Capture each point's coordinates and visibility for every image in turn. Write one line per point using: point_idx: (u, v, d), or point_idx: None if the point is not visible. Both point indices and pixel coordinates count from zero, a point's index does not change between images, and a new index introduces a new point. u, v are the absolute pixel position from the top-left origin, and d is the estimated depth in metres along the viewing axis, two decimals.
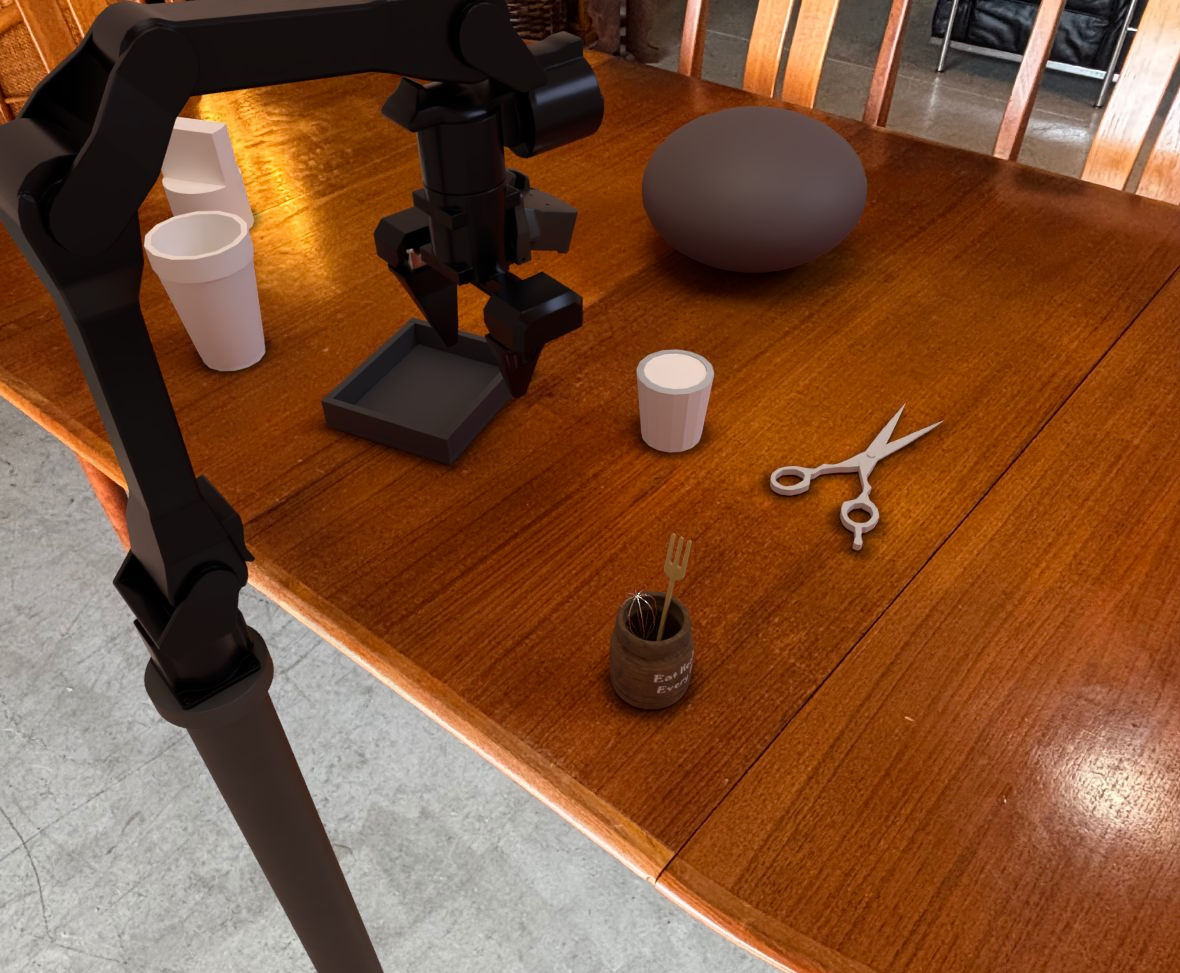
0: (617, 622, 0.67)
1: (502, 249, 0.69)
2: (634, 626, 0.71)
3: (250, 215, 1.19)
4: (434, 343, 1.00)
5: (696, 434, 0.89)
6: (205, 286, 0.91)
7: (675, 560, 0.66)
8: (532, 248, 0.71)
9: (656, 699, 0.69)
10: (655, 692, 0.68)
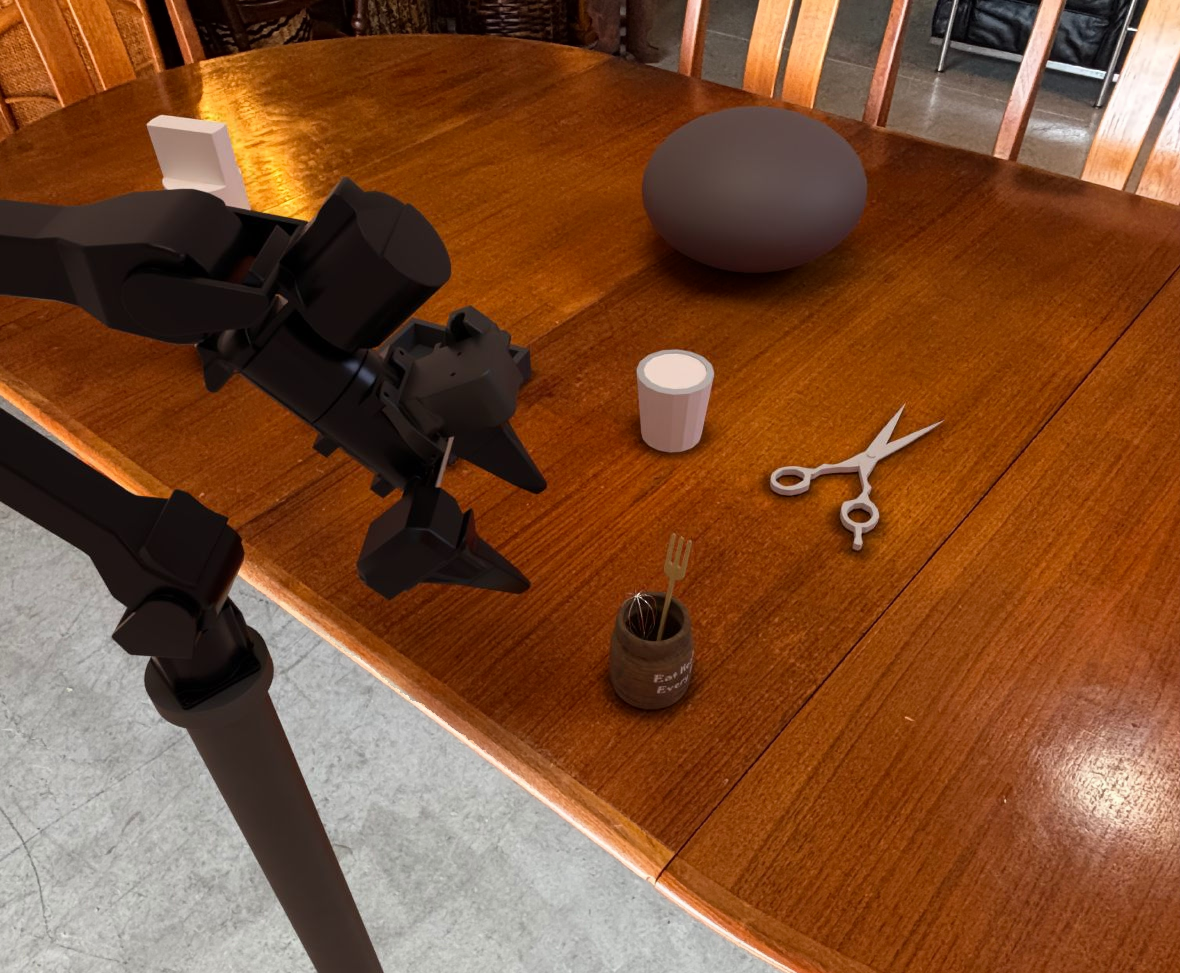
0: (617, 622, 0.67)
1: (397, 455, 0.56)
2: (634, 626, 0.71)
3: None
4: (434, 343, 1.00)
5: (696, 434, 0.89)
6: None
7: (675, 560, 0.66)
8: (446, 436, 0.55)
9: (656, 699, 0.69)
10: (655, 692, 0.68)
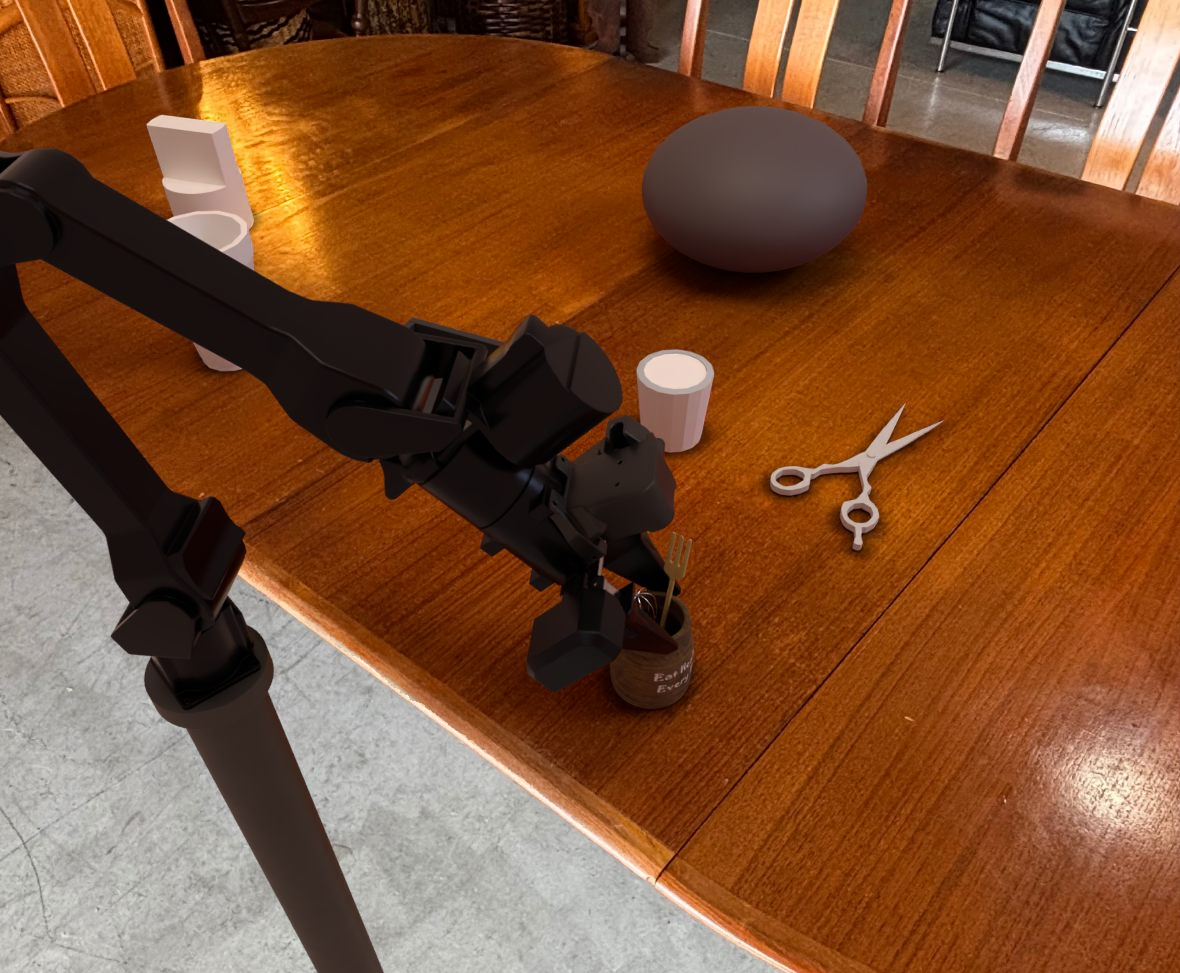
0: None
1: (559, 556, 0.60)
2: None
3: (250, 215, 1.19)
4: None
5: (696, 434, 0.89)
6: None
7: (675, 559, 0.66)
8: (607, 539, 0.59)
9: (656, 698, 0.69)
10: (655, 692, 0.68)
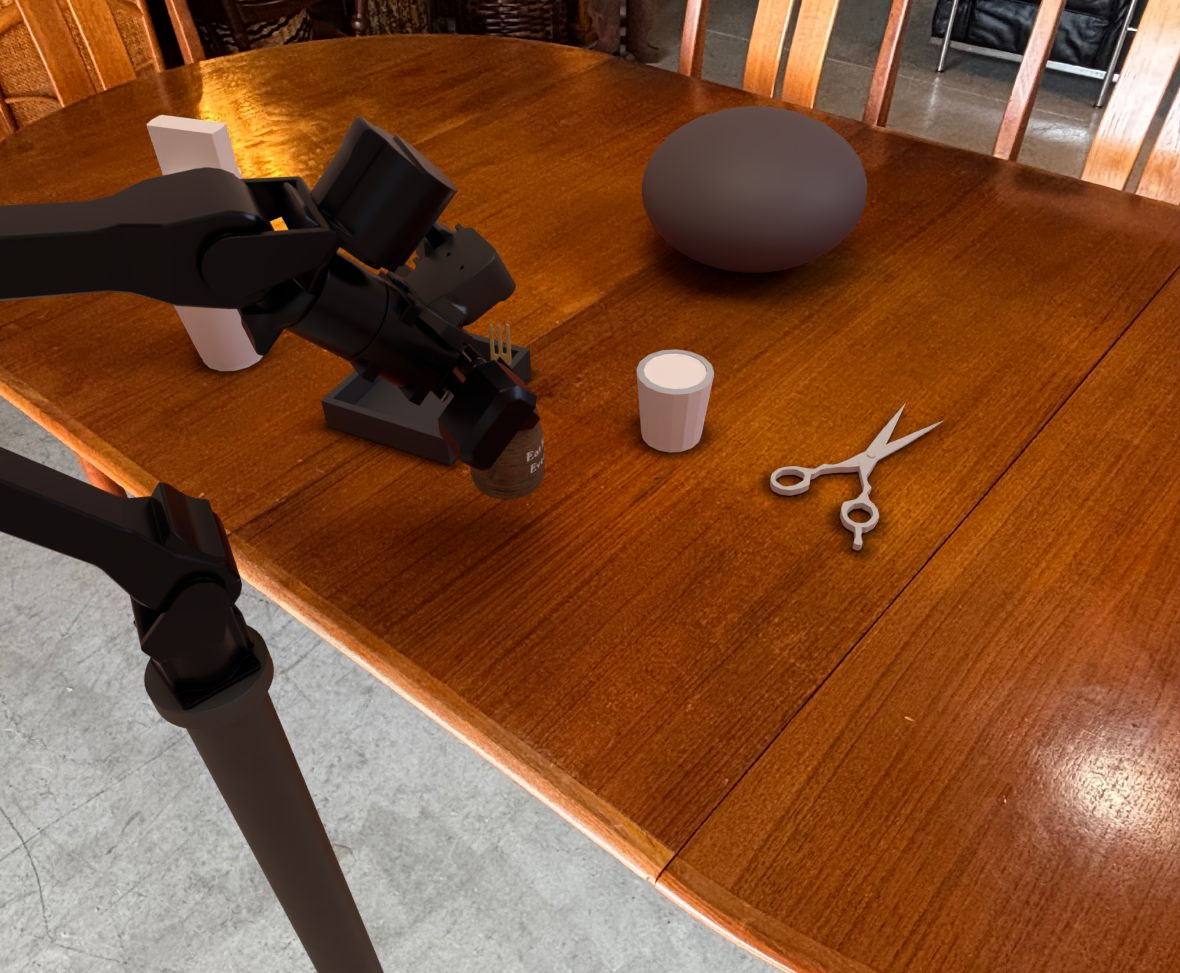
0: None
1: (434, 355, 0.64)
2: None
3: None
4: None
5: (696, 434, 0.89)
6: None
7: (499, 349, 0.73)
8: (469, 323, 0.65)
9: (530, 480, 0.76)
10: (529, 473, 0.76)
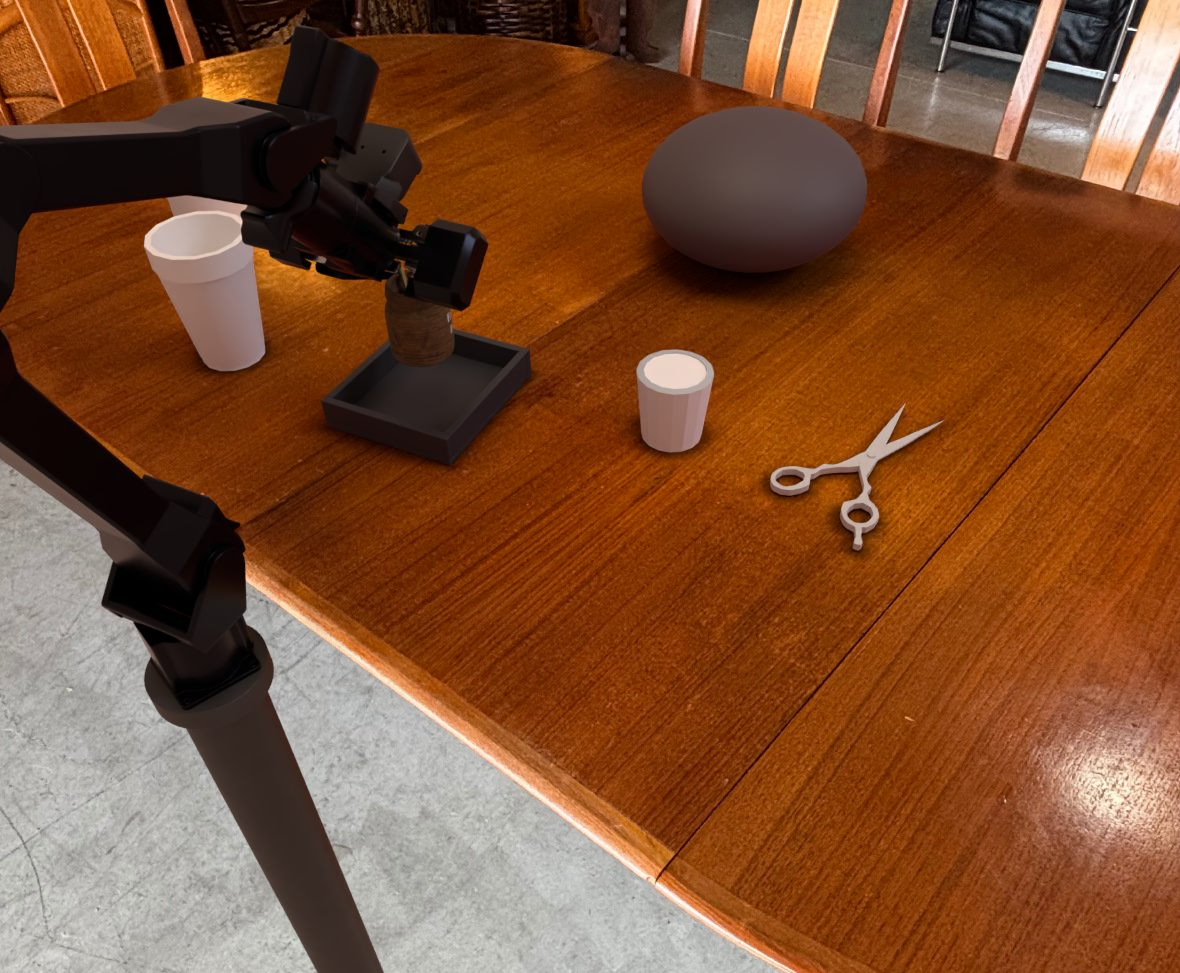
0: (403, 298, 0.85)
1: (387, 230, 0.76)
2: None
3: None
4: None
5: (696, 434, 0.89)
6: (205, 286, 0.91)
7: None
8: (401, 198, 0.77)
9: (451, 340, 0.90)
10: (450, 333, 0.89)
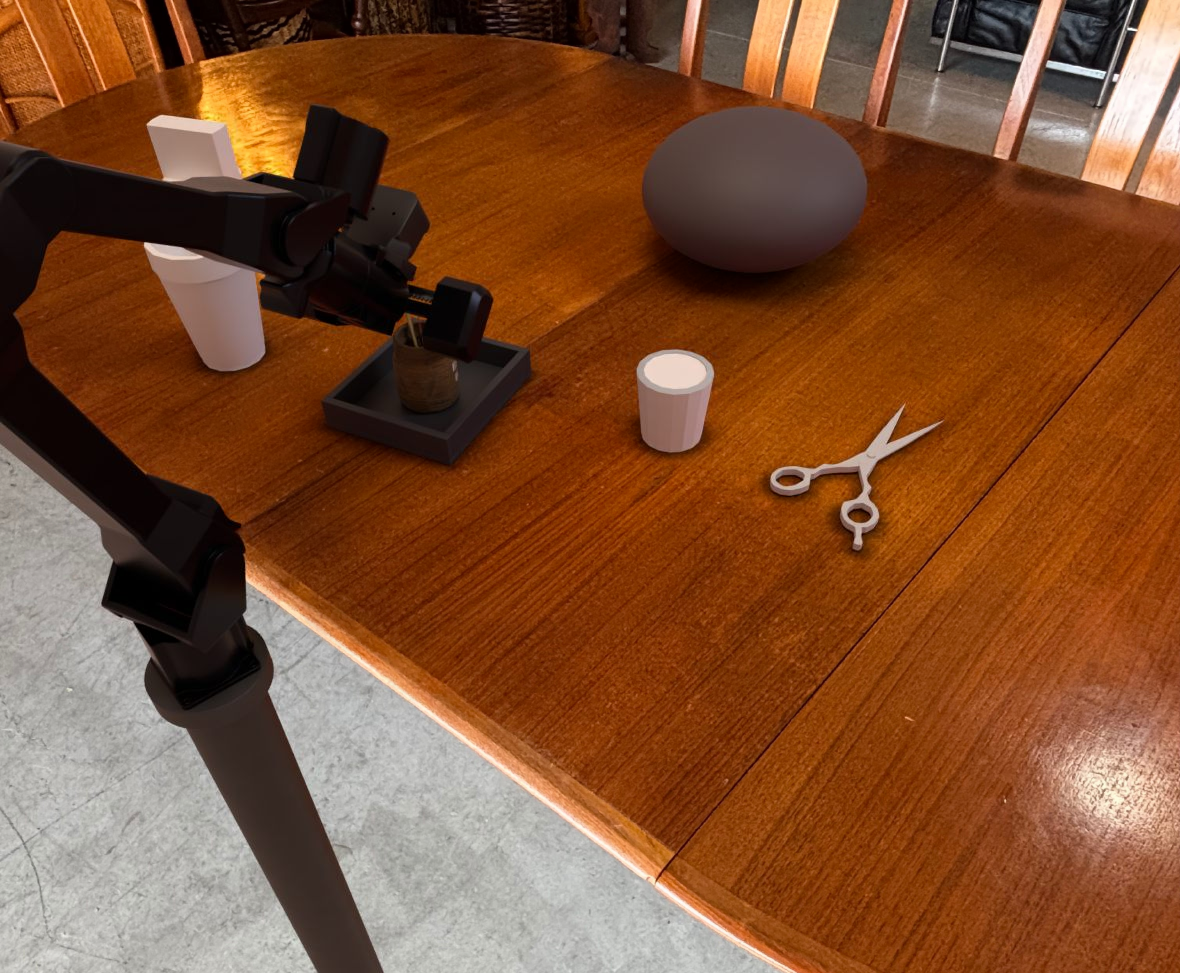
0: (410, 350, 0.88)
1: (397, 288, 0.80)
2: None
3: None
4: None
5: (696, 434, 0.89)
6: (205, 286, 0.91)
7: None
8: (410, 256, 0.81)
9: (456, 387, 0.93)
10: (455, 381, 0.93)
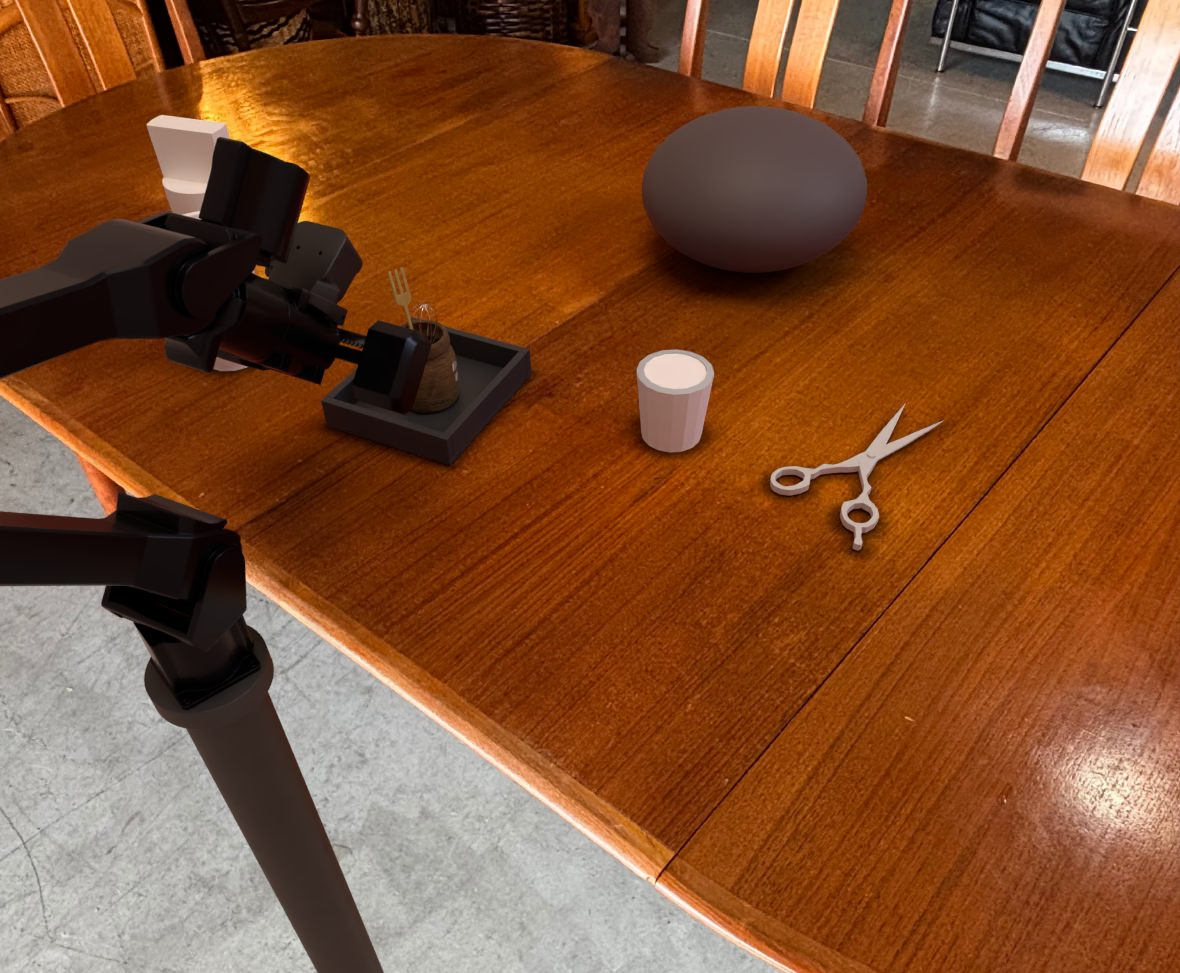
0: None
1: (325, 334, 0.73)
2: None
3: None
4: None
5: (696, 434, 0.89)
6: None
7: (400, 289, 0.89)
8: (340, 299, 0.74)
9: (456, 387, 0.93)
10: (455, 381, 0.93)
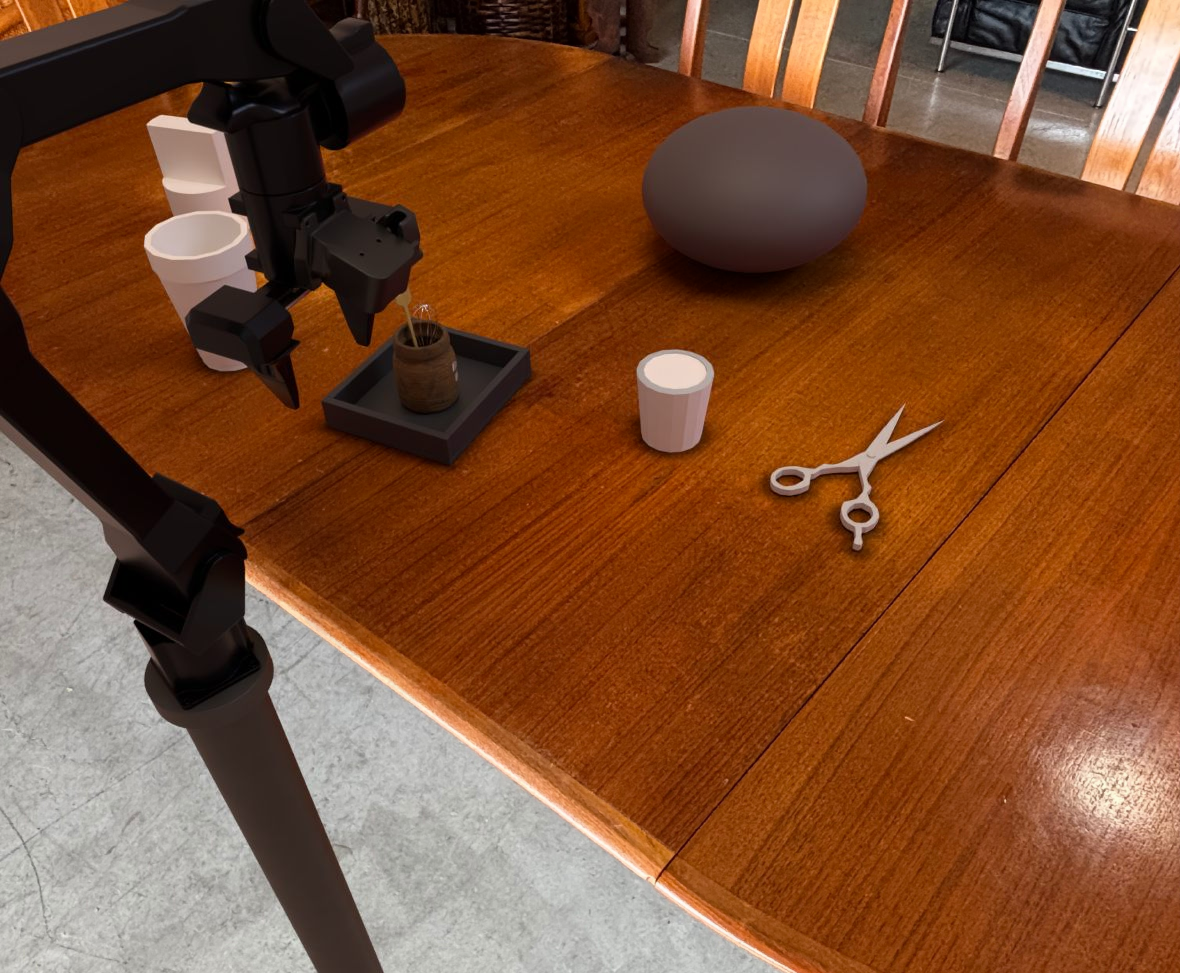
0: (410, 350, 0.88)
1: (281, 260, 0.66)
2: None
3: None
4: None
5: (696, 434, 0.89)
6: (205, 286, 0.91)
7: None
8: (324, 282, 0.66)
9: (456, 388, 0.93)
10: (455, 381, 0.93)
